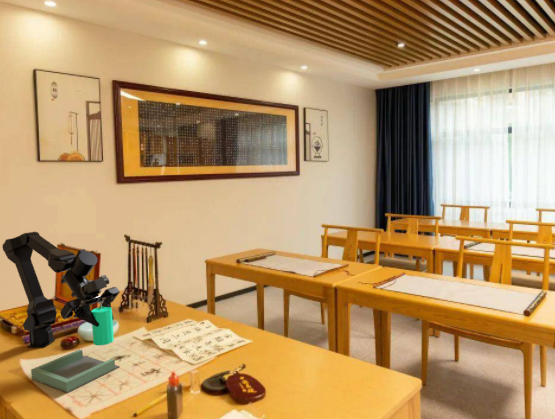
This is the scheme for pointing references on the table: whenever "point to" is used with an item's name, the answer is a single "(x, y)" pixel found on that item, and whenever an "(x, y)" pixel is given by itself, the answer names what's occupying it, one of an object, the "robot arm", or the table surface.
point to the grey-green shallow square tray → (72, 371)
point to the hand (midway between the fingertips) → (105, 323)
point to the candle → (103, 326)
